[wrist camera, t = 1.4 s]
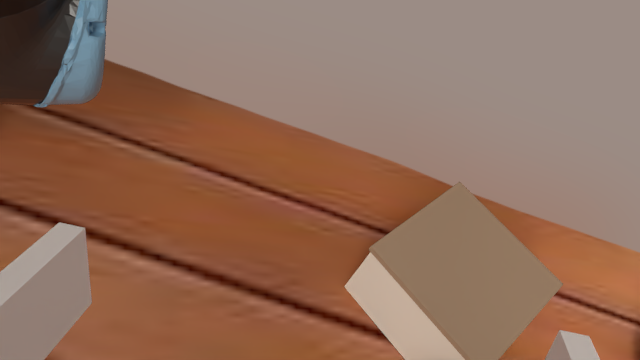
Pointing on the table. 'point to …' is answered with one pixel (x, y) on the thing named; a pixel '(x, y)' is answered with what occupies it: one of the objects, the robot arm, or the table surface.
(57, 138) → the table surface
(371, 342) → the table surface
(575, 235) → the table surface
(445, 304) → the riser block
